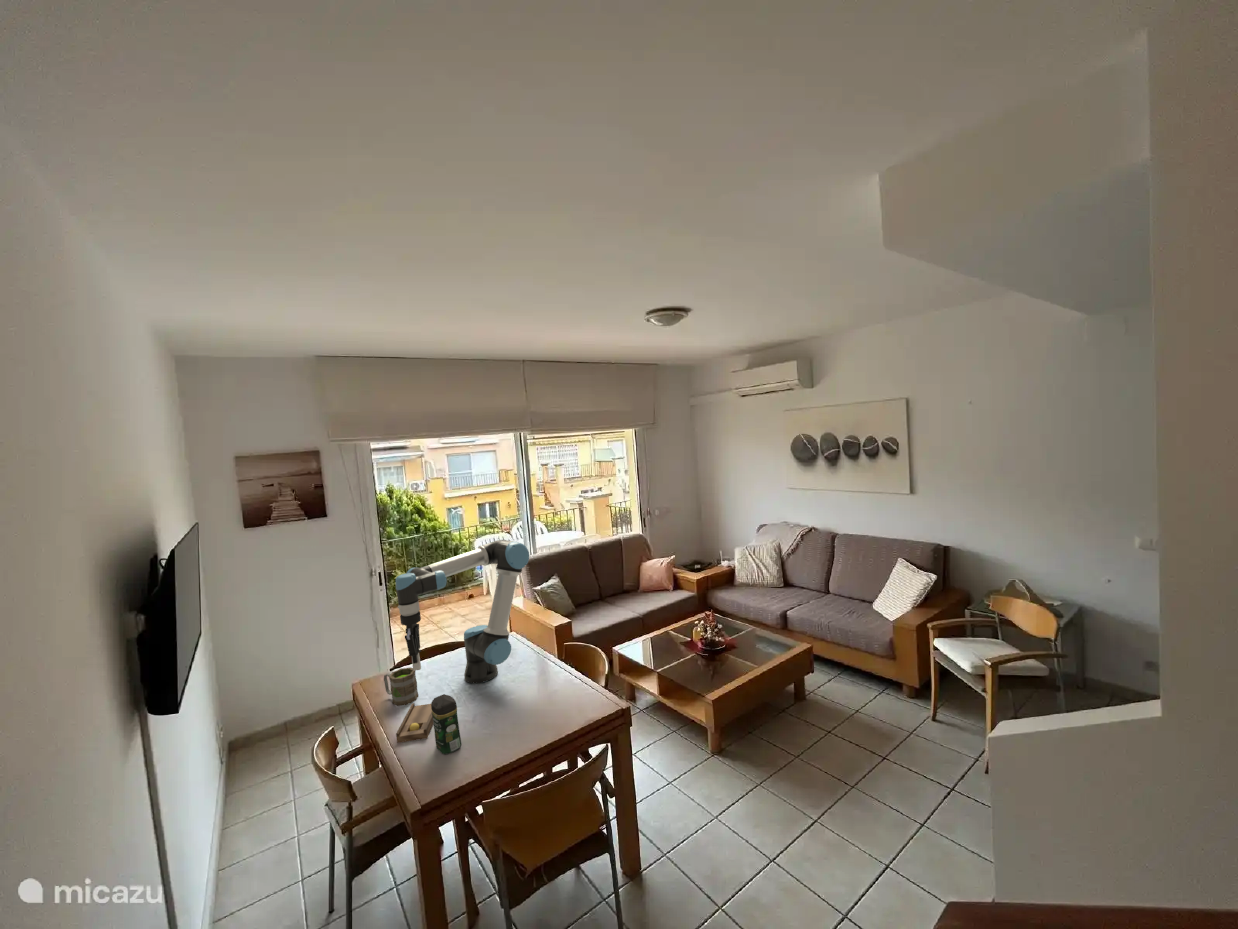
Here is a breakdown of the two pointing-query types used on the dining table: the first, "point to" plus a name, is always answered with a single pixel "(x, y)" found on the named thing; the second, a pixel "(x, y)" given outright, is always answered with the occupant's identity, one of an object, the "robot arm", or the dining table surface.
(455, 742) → the coffee jar
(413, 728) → the ball
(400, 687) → the mug
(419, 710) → the lane board
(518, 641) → the dining table surface
